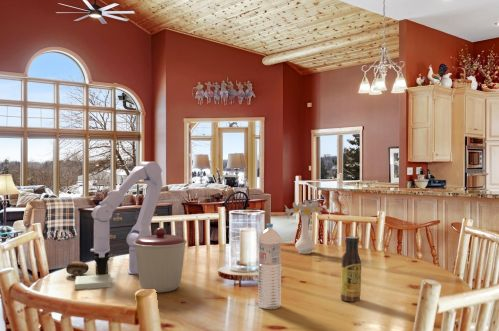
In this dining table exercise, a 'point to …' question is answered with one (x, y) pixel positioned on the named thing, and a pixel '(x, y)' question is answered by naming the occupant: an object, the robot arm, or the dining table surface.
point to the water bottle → (269, 269)
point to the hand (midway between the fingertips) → (101, 273)
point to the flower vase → (304, 224)
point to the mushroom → (77, 268)
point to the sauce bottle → (351, 271)
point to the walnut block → (105, 272)
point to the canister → (160, 260)
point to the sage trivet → (92, 281)
